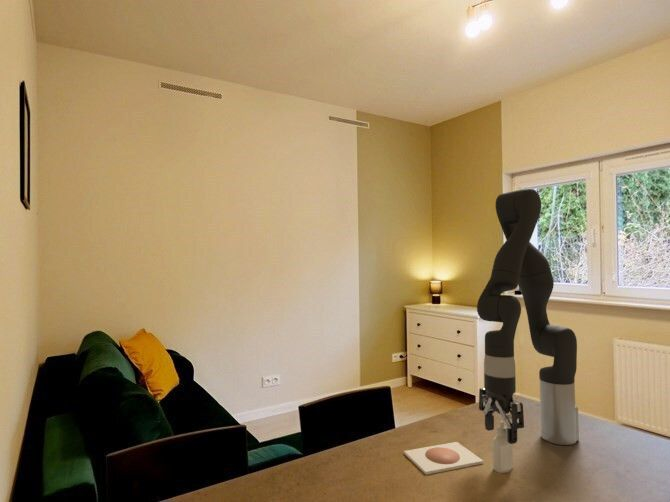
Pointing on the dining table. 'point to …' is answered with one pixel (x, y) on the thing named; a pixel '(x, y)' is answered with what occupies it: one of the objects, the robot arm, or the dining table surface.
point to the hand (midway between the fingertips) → (500, 436)
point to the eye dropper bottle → (502, 451)
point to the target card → (442, 457)
